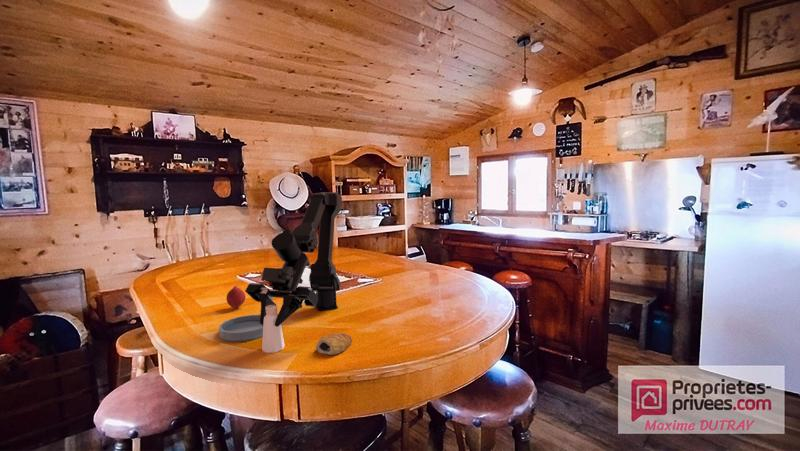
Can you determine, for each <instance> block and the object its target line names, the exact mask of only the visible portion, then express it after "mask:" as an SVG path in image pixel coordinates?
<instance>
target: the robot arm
mask: <svg viewBox="0 0 800 451" xmlns="http://www.w3.org/2000/svg"><path fill="white" fill-rule="evenodd" d="M309 199H310V201H309V203H308V205H307V208H306V210H305V214H304V215H303V218H302V220H301V223H300V225H298V226H296V227H295V228H293V230H292V229H283V231H282V232H280V233H278V234H276V236H275V237H274V238H272V240H271V246H272V248H273V250H274V251H275V253H276V255H277V256H278V257H279V258H280V261H283V265H282V267H280V268H279V267H276V268H275V267H263V270H262V276H261V281H262V282H268V286H269V287H271V288H272V289H271V288H267V287H266V285H265V284H264V283H255V282H251V283H248V285H247V287H246V289H245V290H244V293H246V294H247V295H248V296H250V297H251V299H252V300H254V302H258V303H260V314H259V315H260V324H261V325H263V323H264V317H265V316H266V309H265V307H266V306H268V305H277V304H276V303H275V302H274V298H280V299H282V305H281V307H280V309H279V312H278V313H277V314H278V316H277V319H276V322H275V326H276V327H278V326H279V325H280V324H281V325H282V323H283V322H285V321H286V319H288V318H289V317H290V316H292V315H293V314H294V313H296V311H298V310H299V309H302V308H303V305H302V304H303V303H304V305H305V306H306V307H314V308H315V309H317V311H318V312H319V311H327V310H334V309H336V310H337V309H338V308H339V307H338V305H337V291H340V290H341V280H340V279H339V276H338V274H337V268H336V266H335V264H334V263H333V260H332V259H333V247H334V246H333V244H334V234H335V233H334V232H335V219H336V218H337V216H338V215H339V213H340V212H341V206H342V204H343V198H342V195H340V194H339V192H337V191H336V192H335V191H334V192H333V191H332V192H330V191H329V192H325V191H324V192H323V191H322V192H316V193H315V192H314V193H311V195H310V198H309ZM318 226H319V233H318V234H319V235H318V236H317V231H318ZM316 249H317V257H316V261H315V262H314V263H311V264H310V260H309V256H307V255H306V254H311V253H314V252H315V250H316ZM306 267H310V273H309V277H308V280H309V281H308V282H309V285H310V286H299V284H300V285H301V284H303V278H302V276H303V274H304V273H305V272H304V271H305V270H306Z"/></svg>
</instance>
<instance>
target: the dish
mask: <svg viewBox="0 0 800 451" xmlns="http://www.w3.org/2000/svg"><path fill="white" fill-rule="evenodd" d="M218 333H219V335H218V336H219V339H221V340H222V341H225V342H232V343H238V342H239V343H241V342H242V341H243V342H248V341H249V340H250V341H253V340H258V339H261V338H263V325H261V324H260V314H247V315H242V316H237V317H233V318H230V319H228V320H225V321H223V322H222V323H220V325H219V328H218ZM250 341H249V342H250Z"/></svg>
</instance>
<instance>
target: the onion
mask: <svg viewBox="0 0 800 451" xmlns="http://www.w3.org/2000/svg"><path fill="white" fill-rule="evenodd" d="M245 293H246V292H245V291H243V289H241V288H239V286H238V285H236V284H235V285H233V287H232V288H230V290H229V291H228V292H227V294H226V299H225V300H226V303H227V304H228V306H230V307H231V308H234V309H239V308H240V307H241V306H242V305H243V304H244V302H245V301H246V294H245Z"/></svg>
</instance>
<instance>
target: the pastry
mask: <svg viewBox="0 0 800 451" xmlns="http://www.w3.org/2000/svg"><path fill="white" fill-rule="evenodd" d="M352 341H353V338H352V336H351V335H349V334H347V333H343V332H342V333H339V332H338V333H330V334H326V335H325V336H322V337H321V338H320V339H319V340H318V341H317V343H316V345H315V350H316V351H317V353H319V354H325V355H329V356H336V355H339V354H341V353H343V352H345V351H346V350H347V349H348V348H349V347H350V346H351V345H352Z"/></svg>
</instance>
